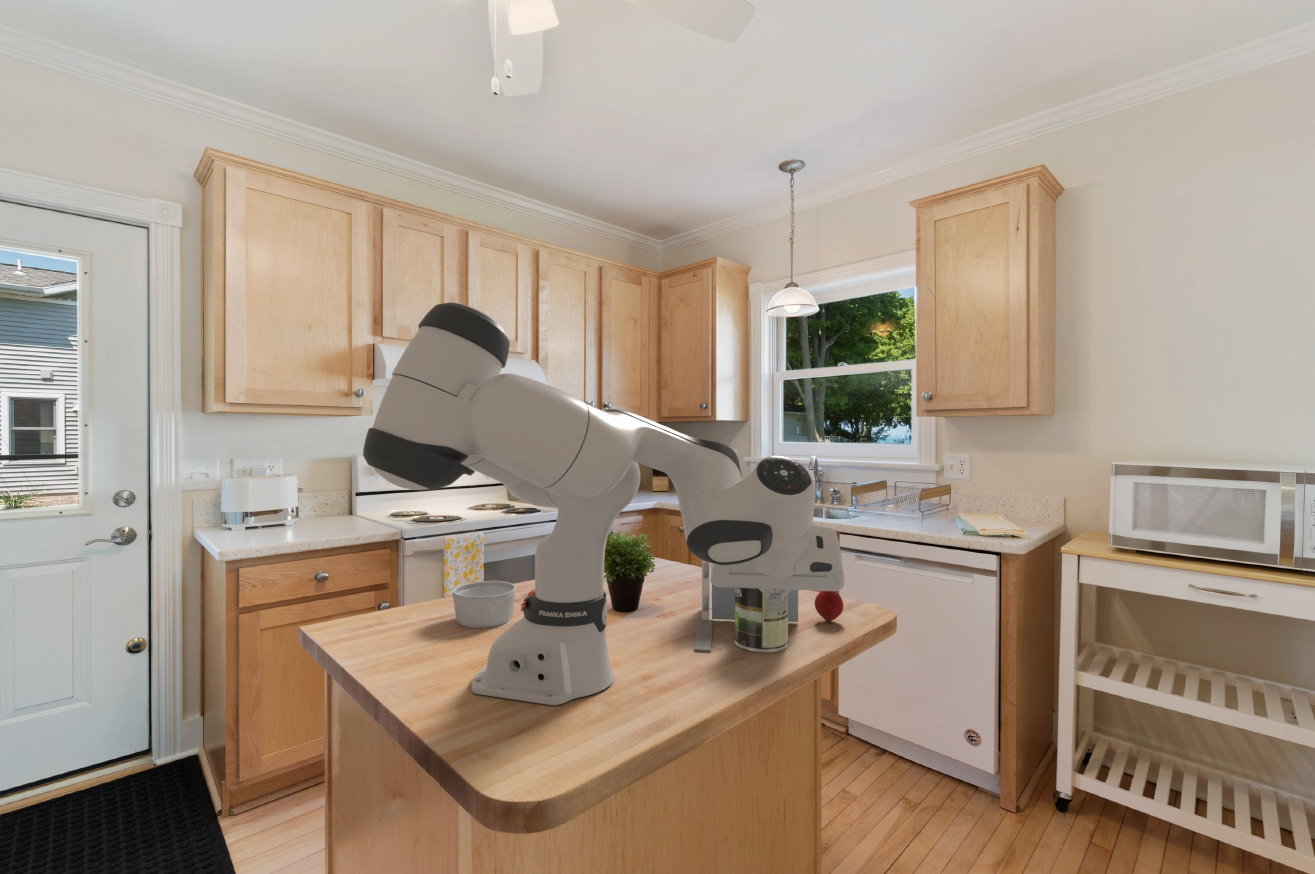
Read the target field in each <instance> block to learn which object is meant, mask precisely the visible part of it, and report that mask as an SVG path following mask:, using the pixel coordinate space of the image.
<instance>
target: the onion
mask: <svg viewBox="0 0 1315 874" xmlns="http://www.w3.org/2000/svg"><path fill="white" fill-rule="evenodd" d="M814 607H815V610H816V612H817V613H818V615H819V616H821V617H822V618H823V619H824V621H825V622H827V623H831V622H833V621H834V620H836V619H837V618H838V617H839V616H841V614H842V613H843V612H844V611H843V610H844V601H843V599H842V597H841V595H840V594H839V593H838V591H819V593H817V595H816V596H815V599H814Z"/></svg>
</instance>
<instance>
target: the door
mask: <svg viewBox="0 0 1315 874" xmlns="http://www.w3.org/2000/svg"><path fill="white" fill-rule="evenodd" d="M711 620H727V621H728V620H729V621H731V620H733V621H735V588H731V587H716V586H714V585H713V584H712V583H711ZM790 622H791V623H799V590H792V591H791V592H789V593H788V623H790Z"/></svg>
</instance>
